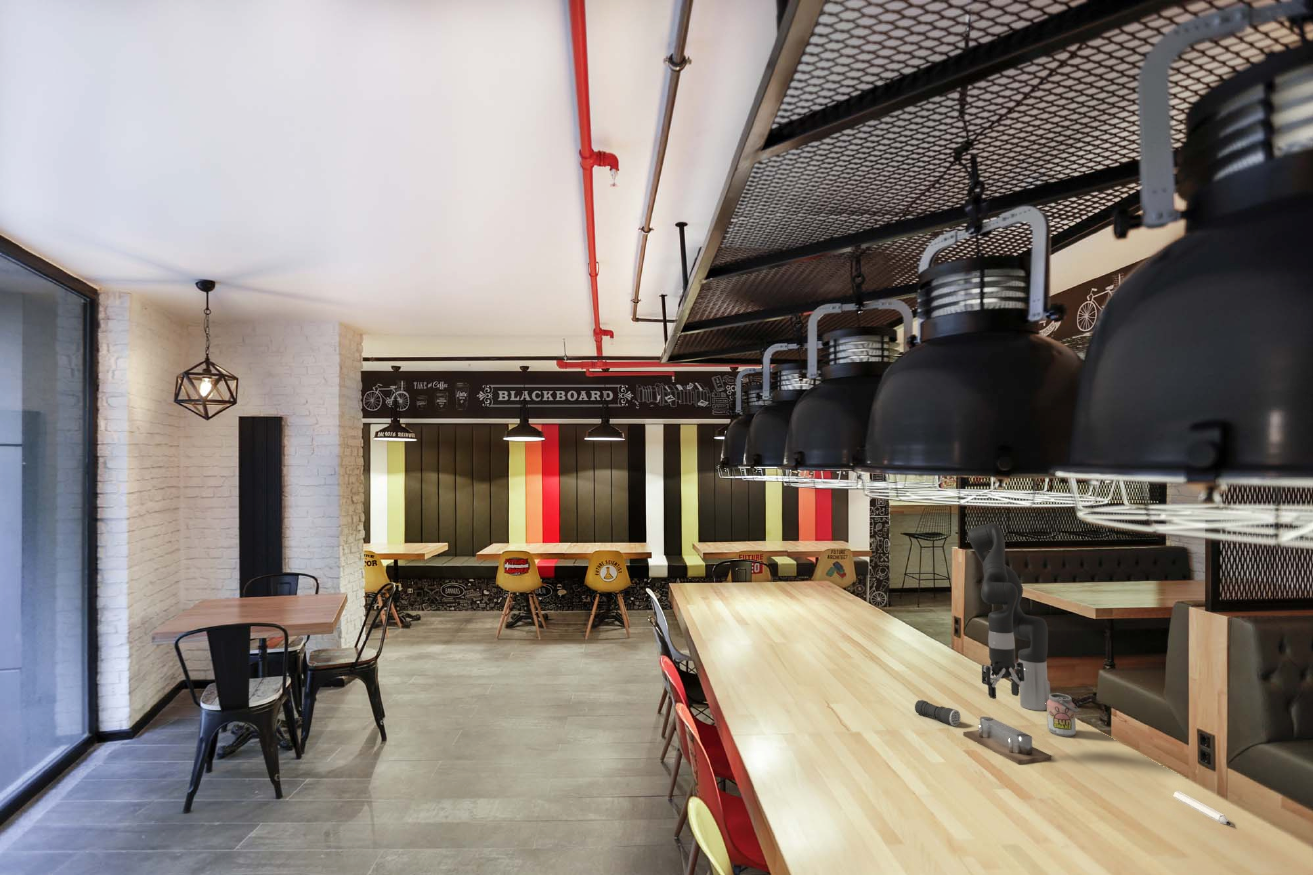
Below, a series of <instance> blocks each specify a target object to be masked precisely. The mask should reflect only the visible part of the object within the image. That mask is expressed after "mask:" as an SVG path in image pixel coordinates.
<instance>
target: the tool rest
mask: <svg viewBox="0 0 1313 875" xmlns="http://www.w3.org/2000/svg"><path fill="white" fill-rule="evenodd" d="M962 735H963V737H965V738H967V739H969V740H970V741H973V742H974V743H976V742H977V744H978V745H980V746H982V747H984V748H986V749H988V750H990V751H992V752H994V753H996V754H997V755H999V754H1000V755H999V756H1001V755H1002V757H1003V758H1005V759H1008V761H1011V762H1014V763H1015V764H1017V765H1022V764H1023V765H1024V764H1030V763H1036V762H1037V763H1038V762H1043V761H1050V760H1052V755H1050V754H1049V753H1047V752H1046V751H1045V752H1044V751H1043V750H1040V749H1038V748H1037V747H1034V746H1032V755H1022V754H1020V753H1018V752H1016V751H1014V750H1013V739H1011V738H1009V739H1008V741H1009V748H1008V747H1006V746H1004V745H1002V744H1000V743H998V742H996V741H994V740H992V739H990V738H988V737H986V736H984V735H983V725H982V724H980V723H978V729H975V730H969V731H963V732H962ZM1030 736H1031V737H1032V738H1033V736H1032V735H1030Z"/></svg>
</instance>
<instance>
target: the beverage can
mask: <svg viewBox="0 0 1313 875" xmlns="http://www.w3.org/2000/svg"><path fill="white" fill-rule="evenodd" d="M1079 712H1080V709H1079V708H1078V706H1077V705H1076V704H1075V703H1073V699H1072V697H1071V696H1070V695H1067V694H1065V693H1064V694H1063V693H1060V692H1056V693H1054V692H1053V693H1050V695H1049V700H1048V701H1047V710H1046V715H1047V716H1046V717H1047V718H1046V720H1047V730H1048V731H1049V732H1050V734H1052V735H1055V736H1059V737H1066V738H1067V737H1070V738H1071V737H1074V736H1075V735H1076V732H1077V729H1076V713H1079Z"/></svg>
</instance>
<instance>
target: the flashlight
mask: <svg viewBox="0 0 1313 875" xmlns="http://www.w3.org/2000/svg"><path fill="white" fill-rule="evenodd" d="M914 712H915V713H917V714H918V715H920V716H923V717H929V718H933V719H936V720H938V721H940V722H943V723H944V724H946V725H949V726H952V727H956V726H959V724H960V721H961V713H960V711H959V710H957V709H954V708H950V707H945V706H938V705H935V704H933V703H930V702H928V701H926V700H923V699H921V700H920V699H918V700H917V701H915V704H914Z"/></svg>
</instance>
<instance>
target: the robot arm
mask: <svg viewBox="0 0 1313 875" xmlns="http://www.w3.org/2000/svg"><path fill="white" fill-rule="evenodd" d="M967 539H968V541H969V543H970V545H971V547H972V549H973V550H974V552H975V554H976V556H977V557H978V559H979V561H980V562H981V564H982V572H983V573H982V574H983V583H982V586H981V591H980V596H981V599H982V600H983V602H985V603H986V604H987V605H998V606H1002V607H1003V608H1002V609H1000V610H995V611H991V612H989V613H988V617H987V618H988V619H987V620H988V636H987V637H988V658H989V660H990V664H989V665H986V664H982V666H981V683H982V684H983V685H986V686H987V692H988V693H987V694H988V696H989V698H990V699H993V700H997V687H996V686H997V684H998V682H1000V680H1001V679H1002V680H1003V679H1005V678H1006V679H1009V680H1010V681H1011V683H1010V686H1011V690H1010V691H1011V694H1012V696H1014V697H1018V696H1019V700H1020V701H1019V703H1020V706H1021V707H1022V708H1025V709H1027V710H1032V711H1047V701H1048V700H1049V695H1050V694H1051V682H1050V681H1049V680H1048V667H1047V666H1048V664H1047V656H1048V652H1049V650H1048V648H1049V647H1048V646H1049V645H1048V642H1049V634H1048V633H1049V630H1048V629H1049V628H1048V624H1047V621H1046V620H1045V619H1044V618H1042V617H1040V616H1034V615H1028V614H1025V612H1024V611H1023V610H1022V608H1021V606H1020V603H1021V600H1022V597H1023V594H1024V588H1023V585H1022V582H1021V580H1020V578H1019V576H1018V574H1017V573H1016V571H1014V569H1013V568H1011V567H1009V566H1008V565H1007V564H1006V562H1005V560H1006V559H1005V557H1006V543H1005V542H1006V541H1005V536H1004V534H1003V531H1002V529H1001V527H1000V525H999V524H997V523H995V522H990V523H986V524H983V525H979V526H975V527H972V528H970V529H969V530H968V531H967ZM1015 638H1017V639H1020V640H1023V641H1029V642H1030V646H1029V647H1028V648H1023V649H1020V650H1018V654H1017V655H1018V656H1017V657H1018V660H1016V646H1015V645H1016V643H1015ZM1045 703H1046V704H1045Z"/></svg>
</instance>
